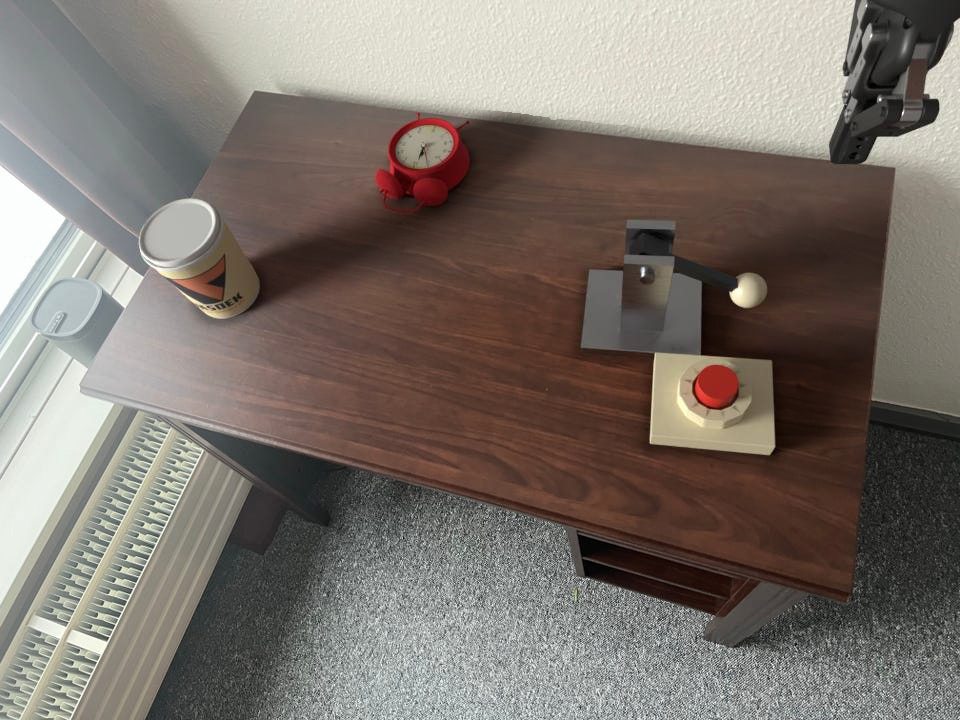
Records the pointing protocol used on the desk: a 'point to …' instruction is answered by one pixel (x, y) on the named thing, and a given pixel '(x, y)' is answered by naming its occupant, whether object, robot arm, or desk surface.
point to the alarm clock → (424, 162)
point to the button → (716, 386)
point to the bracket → (643, 303)
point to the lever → (706, 273)
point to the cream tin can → (200, 257)
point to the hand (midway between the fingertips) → (845, 155)
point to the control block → (712, 428)
